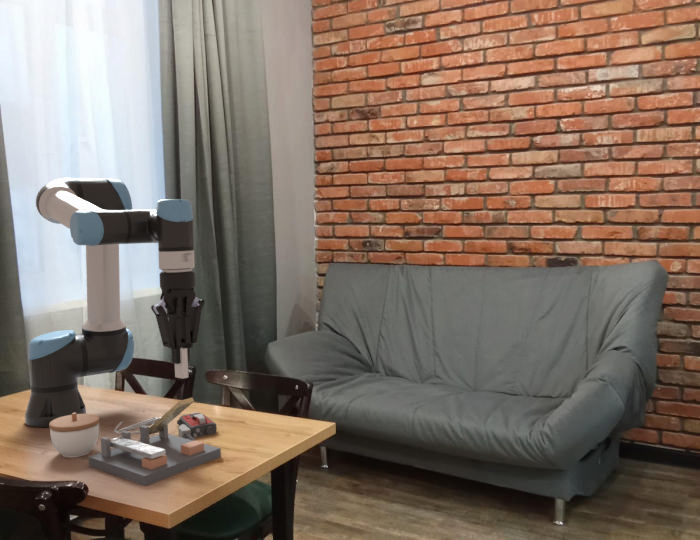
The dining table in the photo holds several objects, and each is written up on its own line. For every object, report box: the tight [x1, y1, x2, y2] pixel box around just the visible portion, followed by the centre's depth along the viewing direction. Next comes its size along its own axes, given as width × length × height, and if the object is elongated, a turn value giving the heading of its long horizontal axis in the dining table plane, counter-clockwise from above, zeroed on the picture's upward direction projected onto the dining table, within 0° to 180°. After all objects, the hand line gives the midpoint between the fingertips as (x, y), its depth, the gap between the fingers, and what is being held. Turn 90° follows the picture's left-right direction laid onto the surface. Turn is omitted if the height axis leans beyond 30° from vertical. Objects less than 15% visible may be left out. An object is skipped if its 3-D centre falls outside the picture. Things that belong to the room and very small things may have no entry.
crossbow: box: [113, 416, 162, 435], centre depth 178 cm, size 16×13×2 cm
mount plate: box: [88, 424, 222, 487], centre depth 151 cm, size 20×20×6 cm
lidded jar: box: [48, 413, 100, 459], centre depth 158 cm, size 11×11×9 cm
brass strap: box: [149, 397, 195, 436], centre depth 155 cm, size 16×4×2 cm
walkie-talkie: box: [176, 411, 217, 441], centre depth 170 cm, size 9×4×20 cm
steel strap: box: [110, 435, 166, 459], centre depth 147 cm, size 16×4×2 cm, turn 53°
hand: (181, 377), depth 151 cm, fingers closed
